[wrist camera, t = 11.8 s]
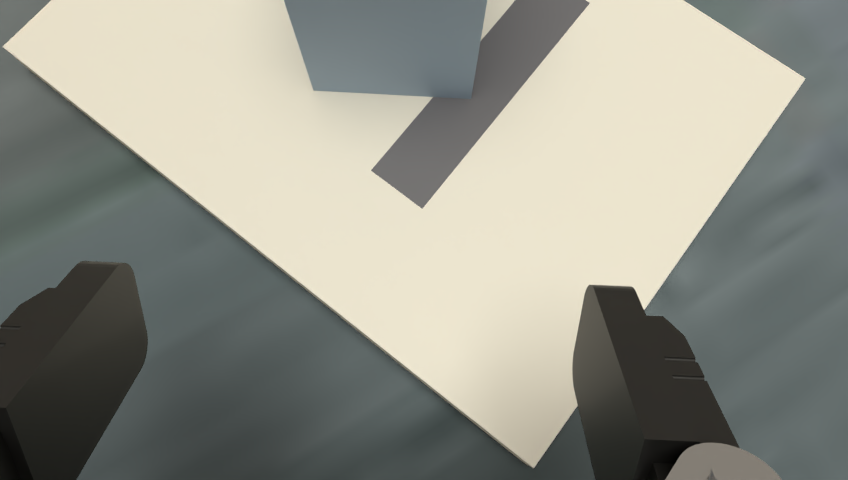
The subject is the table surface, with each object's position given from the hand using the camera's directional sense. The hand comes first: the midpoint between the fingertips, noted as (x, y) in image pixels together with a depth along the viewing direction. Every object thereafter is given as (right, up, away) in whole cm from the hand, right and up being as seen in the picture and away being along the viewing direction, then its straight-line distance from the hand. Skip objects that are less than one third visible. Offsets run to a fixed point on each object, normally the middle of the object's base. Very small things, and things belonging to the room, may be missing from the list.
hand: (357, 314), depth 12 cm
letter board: (+1, +7, +11) cm, 13 cm away
